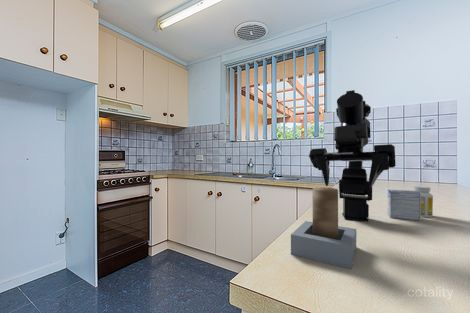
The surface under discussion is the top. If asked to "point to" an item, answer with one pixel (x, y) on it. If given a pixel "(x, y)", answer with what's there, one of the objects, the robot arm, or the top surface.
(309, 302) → the top surface
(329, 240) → the well
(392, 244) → the top surface
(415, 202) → the medicine box
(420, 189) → the supplement bottle
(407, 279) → the top surface
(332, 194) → the walnut cylinder
